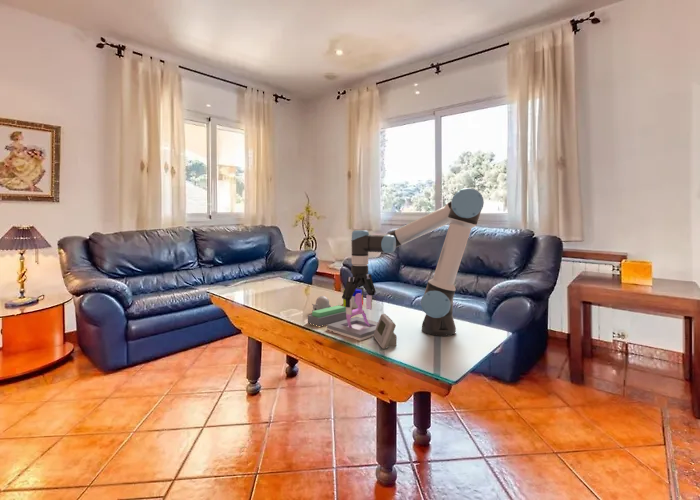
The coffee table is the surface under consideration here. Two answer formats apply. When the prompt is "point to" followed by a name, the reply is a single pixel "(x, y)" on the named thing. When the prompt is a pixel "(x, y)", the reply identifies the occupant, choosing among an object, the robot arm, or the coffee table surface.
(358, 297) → the toy chair
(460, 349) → the coffee table surface
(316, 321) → the button housing
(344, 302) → the puzzle toy
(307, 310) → the coffee table surface
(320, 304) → the chubby cartoon animal
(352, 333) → the grey flat square frame
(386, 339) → the digital clock
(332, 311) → the bar
